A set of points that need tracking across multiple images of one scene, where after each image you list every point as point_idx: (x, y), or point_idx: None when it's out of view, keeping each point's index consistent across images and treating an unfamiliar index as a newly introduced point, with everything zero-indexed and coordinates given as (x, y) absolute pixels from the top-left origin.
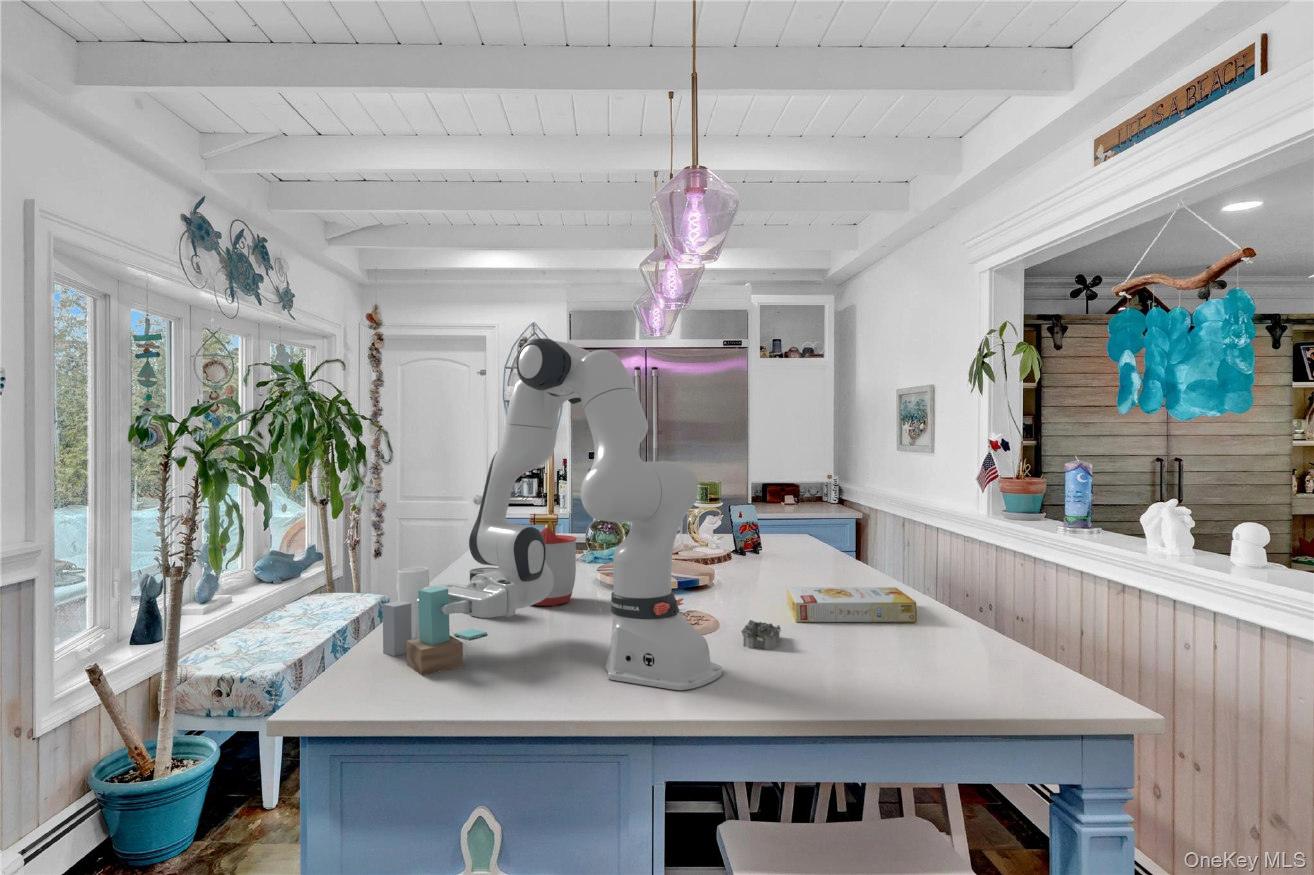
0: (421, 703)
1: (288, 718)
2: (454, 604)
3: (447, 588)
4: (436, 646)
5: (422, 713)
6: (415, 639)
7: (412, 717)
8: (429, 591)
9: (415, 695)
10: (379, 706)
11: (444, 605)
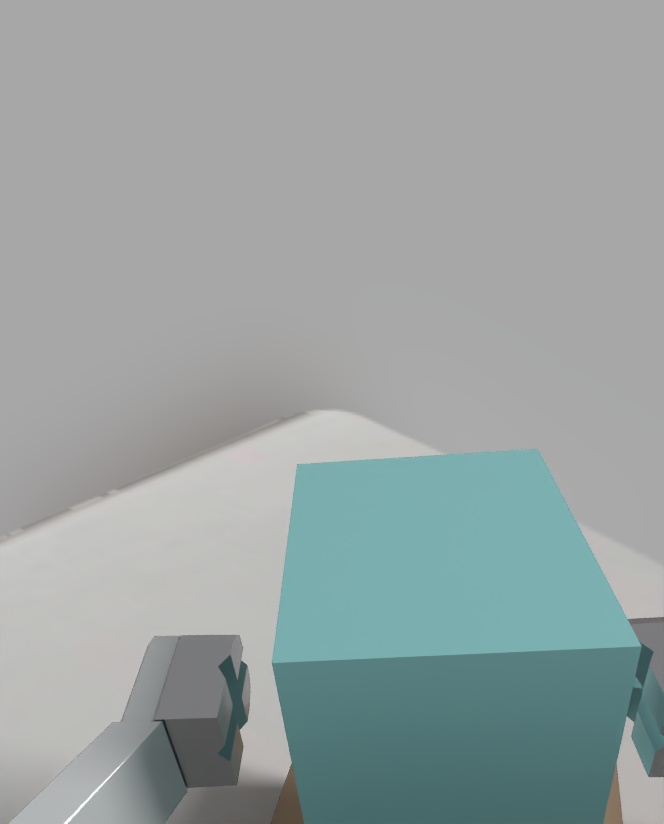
0: (70, 602)
1: (326, 412)
2: (106, 740)
3: (293, 660)
4: (293, 805)
5: (15, 567)
6: (606, 821)
7: (29, 541)
8: (366, 479)
9: (146, 627)
10: (188, 528)
11: (180, 636)
